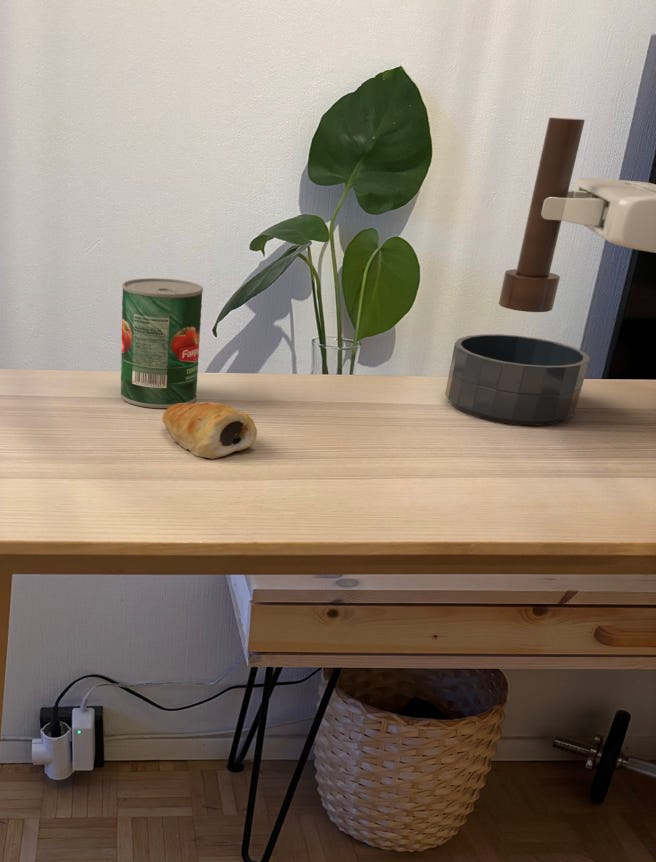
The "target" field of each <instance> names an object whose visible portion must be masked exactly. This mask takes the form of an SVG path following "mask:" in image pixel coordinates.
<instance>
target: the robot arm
mask: <svg viewBox="0 0 656 862" xmlns="http://www.w3.org/2000/svg"><path fill="white" fill-rule="evenodd" d="M540 215H541V216H542V217H543V218H544V219H547V220H561V222H565V223H570V224H571V223H572V224H576V225H582V226H583V227H586V228H587V229H589V230H590V231H591V232H593V233H595V234H596V235H598V236H600V237H601V238H602V239H604V240H605V241H607V242H608V243H610V244H612V245H615V246H619V247H621V248H627V249H632V250H635V251H636V250H637V251H643V252H648V253H655V254H656V184H655V183H651V182H646V181H638V180H627V179H611V178H601V177H600V178H599V177H598V178H597V177H582V178H581V177H579V178H578V179H576V180H575V182H574V185H573V189H572V190H570V189H569V191H568V195H567V198H564V197H553V196H547V197H545V198H544V199H543V200H542V204H541V209H540Z"/></svg>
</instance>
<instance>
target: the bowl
mask: <svg viewBox="0 0 656 862" xmlns="http://www.w3.org/2000/svg"><path fill="white" fill-rule="evenodd" d="M589 362H590V356H589V355H588V354H587V353H586V352H585V351H583V350H581V349H578V348H577V347H574V346H571V345H568V344H565V343H562V342H558V341H553V340H549V339H545V338H544V339H543V338H539V337H538V338H537V337H531V336H523V335H515V334H501V333H499V334H497V333H496V334H495V333H491V334H490V333H486V334H472V335H467V336H463V337H460V338H457V340H455V342H454V345H453V351H452V356H451V361H450V366H449V372H448V375H447V376H448V378H447V382H446V388H445V391H444V395H445V396H446V399H447V400H448V401H449V402H450V403H451V404H452V406H453V407H454V408H456V409H457V410H459V411H461V412H463V413H465V414H467V413H468V415H470V416H473V417H476V418H479V417H480V418H479V419H483V420H486V419H487V420H486V421H491V420H492V421H491V422H496V421H497V422H496V423H503V424H508V423H509V425H518V424H522V425H521V426H546V425H554V424H558V423H562V422H563V421H565V420H567V419H568V418H570V417H572V416H574V415H575V414H576V411H577V406H578V403H579V399H580V395H581V392H582V388H583V386H584V385H583V384H584V381H585V377H586V373H587V369H588V365H589Z"/></svg>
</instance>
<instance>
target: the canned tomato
mask: <svg viewBox="0 0 656 862" xmlns="http://www.w3.org/2000/svg"><path fill="white" fill-rule="evenodd" d="M121 288H122V297H121V298H122V301H121V307H122V308H121V351H120V352H121V353H120V354H121V358H120V359H121V360H120V363H121V364H120V392H119V396H120V398H121V399H122V401H124V402H126V403H129V404H130V405H134V406H137V407H143V408H151V409H168V408H169V407H171V406H172V405H175V404H177V403H196V401H197V398H198V396H197V387H198V373H199V372H198V371H199V359H200V357H199V356H200V355H199V354H200V353H199V352H200V341H201V339H200V336H201V326H202V325H201V324H202V323H201V319H202V308H203V307H202V306H203V305H202V303H203V291H204V287H203V286H202V285H200V284H199V283H196V282H192V281H187V280H182V279H173V278H156V277H155V278H154V277H153V278H152V277H149V278H136V279H130V280H126V281H124V282H123V283H122V284H121Z"/></svg>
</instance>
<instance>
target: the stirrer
mask: <svg viewBox="0 0 656 862" xmlns="http://www.w3.org/2000/svg"><path fill="white" fill-rule="evenodd" d="M584 125H585V119H582V118H568V117H549V118H548V122H547V126H546V131H545V135H544V141H543V145H542V150H541V153H540V159H539V163H538V168H537V171H536V176H535V177H536V178H535V182H534V186H533V191H532V195H531V196H532V197H531V201H530V206H529V211H528V214H527V220H526V224H525V228H524V233H523V238H522V243H521V247H520V251H519V252H520V253H519V258H518V261H517V267H516V269H514V268H513V269H508V270H505V272H504V275H503V280H502V285H501V291H500V295H499V301H498V304H499V306H500V307H502V308H505V309H507V310H508V309H509V310H512V311H517V312H518V311H519V312H525V313H526V312H528V313H548V312H551V311H552V310H553V309H554V305H555V300H556V295H557V292H558V287H559V282H560V278H561V277H560V275H558V274H556V273H553V272H551V270H552V269H551V268H552V264H553V259H554V257H555V256H554V255H555V251H556V246H557V242H558V237H559V233H560V230H561V225H562V221H561V220H547V219H544V218H543V217H542V216H541V215H540V209H541V204H542V200H543V199H544V198H545V197H547V196H553V197H564V198H567V195H568V191H570V187H571V181H572V177H573V173H574V169H575V164H576V161H577V156H578V151H579V147H580V142H581V139H582V134H583V130H584Z"/></svg>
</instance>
